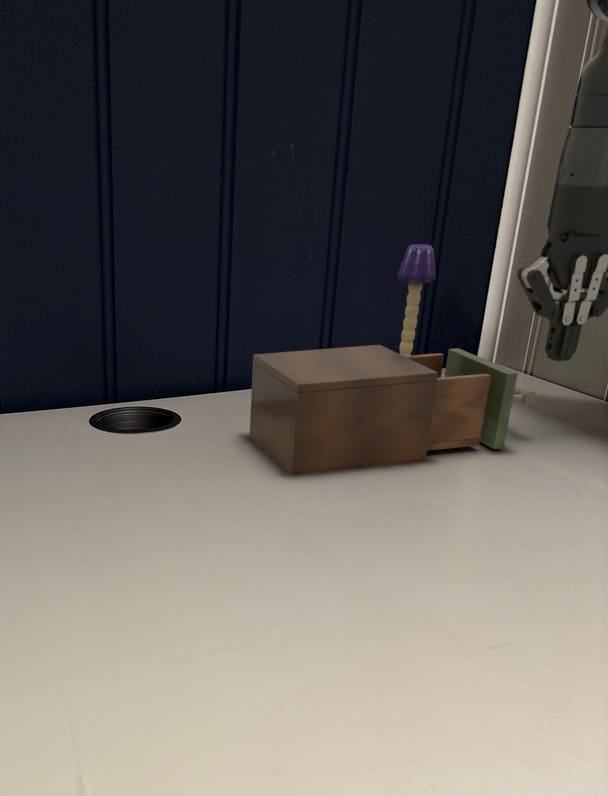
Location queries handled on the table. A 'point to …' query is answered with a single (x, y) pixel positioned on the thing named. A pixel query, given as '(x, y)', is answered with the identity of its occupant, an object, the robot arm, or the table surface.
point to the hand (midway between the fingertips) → (558, 359)
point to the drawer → (471, 400)
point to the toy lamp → (414, 288)
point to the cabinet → (341, 408)
